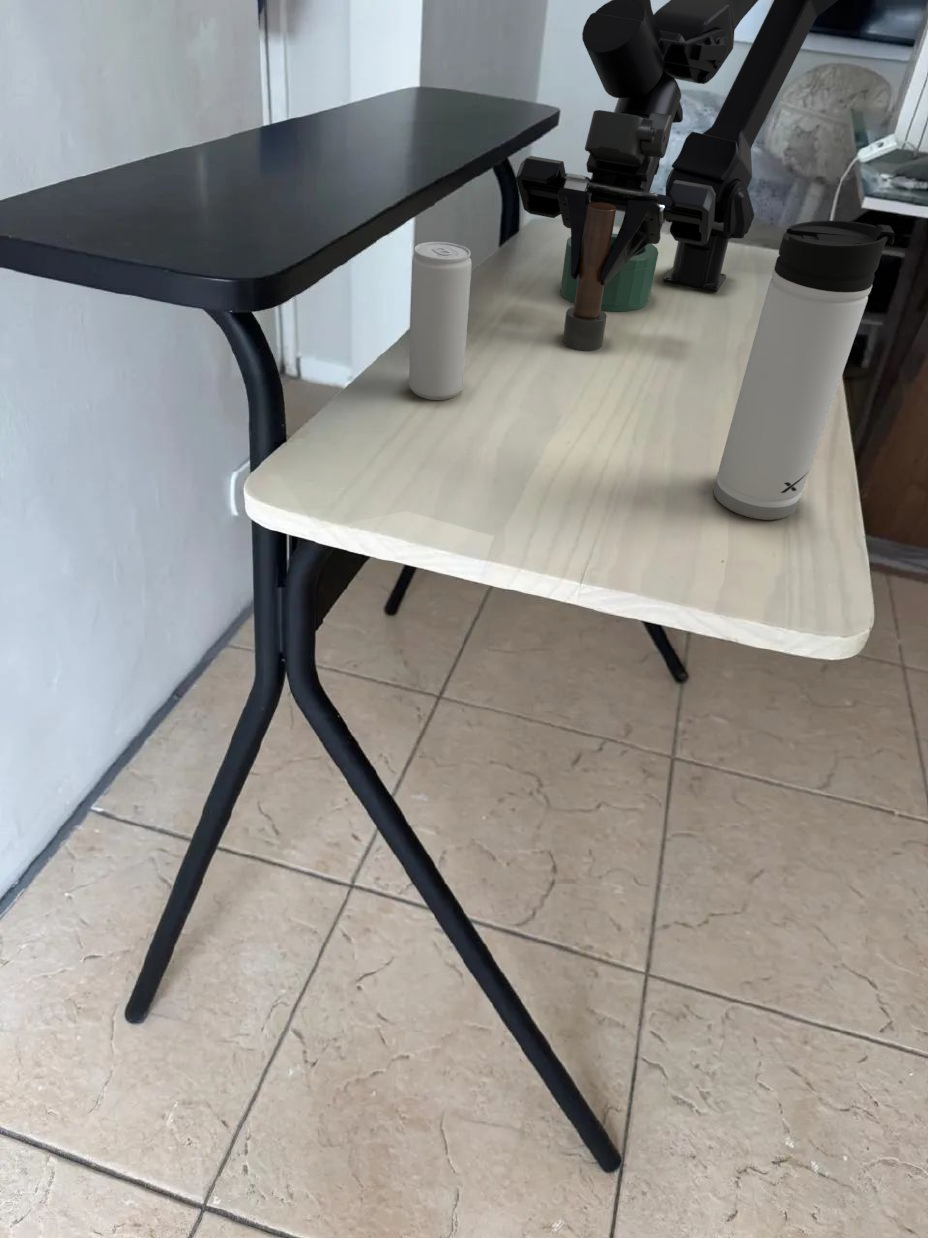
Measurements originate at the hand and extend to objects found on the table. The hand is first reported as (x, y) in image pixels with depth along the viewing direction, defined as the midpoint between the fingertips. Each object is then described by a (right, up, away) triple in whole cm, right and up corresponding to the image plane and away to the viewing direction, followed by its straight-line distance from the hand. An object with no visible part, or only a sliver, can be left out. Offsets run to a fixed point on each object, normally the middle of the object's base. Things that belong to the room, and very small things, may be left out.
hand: (587, 280), depth 87 cm
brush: (0, -4, +5) cm, 7 cm away
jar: (+4, +5, +17) cm, 18 cm away
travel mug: (+10, -23, -17) cm, 31 cm away
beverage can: (-14, -12, -6) cm, 20 cm away
